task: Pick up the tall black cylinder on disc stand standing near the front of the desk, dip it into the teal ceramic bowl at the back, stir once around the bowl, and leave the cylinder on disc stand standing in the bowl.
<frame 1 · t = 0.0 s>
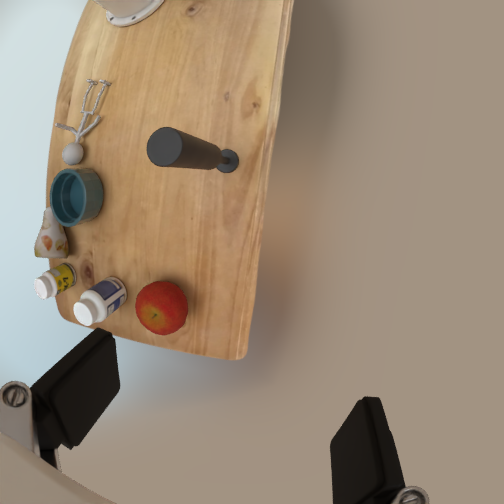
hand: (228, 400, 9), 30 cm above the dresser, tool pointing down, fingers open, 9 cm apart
mug: (61, 230, 43), on the dresser
pill bottle: (116, 290, 44), on the dresser
bowl: (85, 194, 40), on the dresser
apple: (172, 296, 42), on the dresser
figurine: (90, 123, 37), on the dresser
cylinder on disc stand: (227, 161, 36), on the dresser
supplement bottle: (69, 273, 45), on the dresser
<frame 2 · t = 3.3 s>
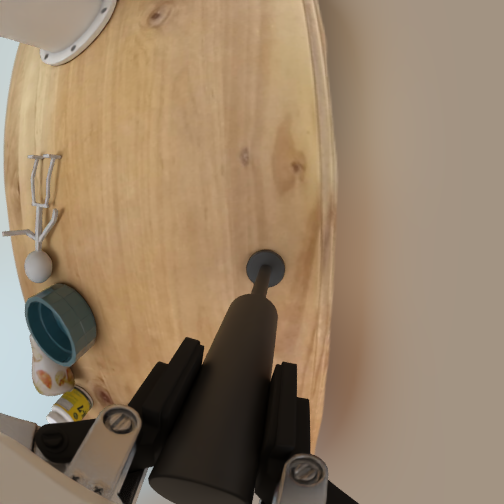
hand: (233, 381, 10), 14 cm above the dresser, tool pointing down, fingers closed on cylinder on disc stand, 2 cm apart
mug: (58, 351, 32), on the dresser
bowl: (72, 315, 29), on the dresser
figurine: (49, 217, 26), on the dresser
cylinder on disc stand: (266, 267, 23), on the dresser, touching gripper
supplement bottle: (83, 394, 34), on the dresser
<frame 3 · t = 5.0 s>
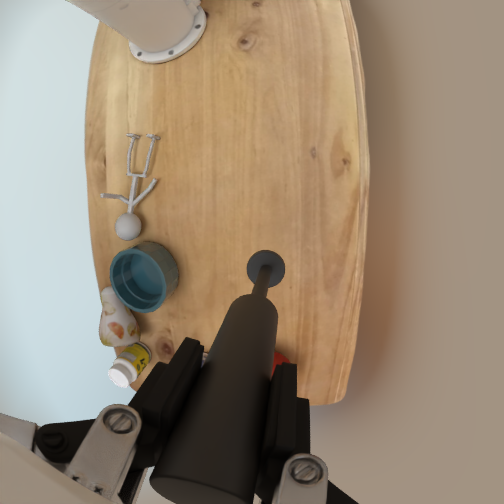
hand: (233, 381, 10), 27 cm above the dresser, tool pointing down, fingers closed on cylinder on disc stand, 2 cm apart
mug: (124, 308, 42), on the dresser
bowl: (152, 270, 40), on the dresser
figurine: (141, 187, 37), on the dresser
cylinder on disc stand: (266, 268, 23), point 13 cm above the dresser, touching gripper
supplement bottle: (141, 351, 44), on the dresser
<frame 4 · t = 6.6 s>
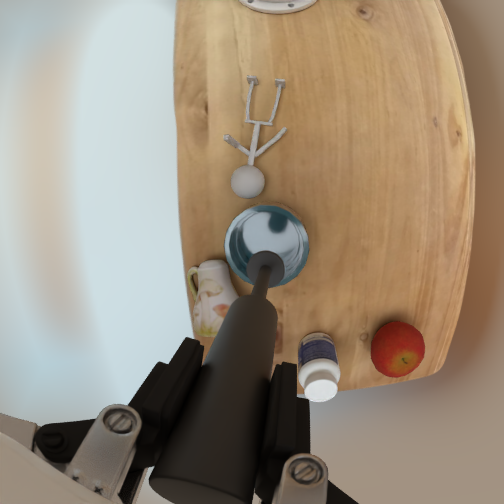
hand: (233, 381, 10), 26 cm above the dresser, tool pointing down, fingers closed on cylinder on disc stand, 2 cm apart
mug: (220, 289, 38), on the dresser
pill bottle: (316, 345, 38), on the dresser
bowl: (269, 237, 35), on the dresser
apple: (389, 333, 36), on the dresser
figurine: (260, 138, 32), on the dresser
cylinder on disc stand: (265, 268, 23), point 12 cm above the dresser, touching gripper
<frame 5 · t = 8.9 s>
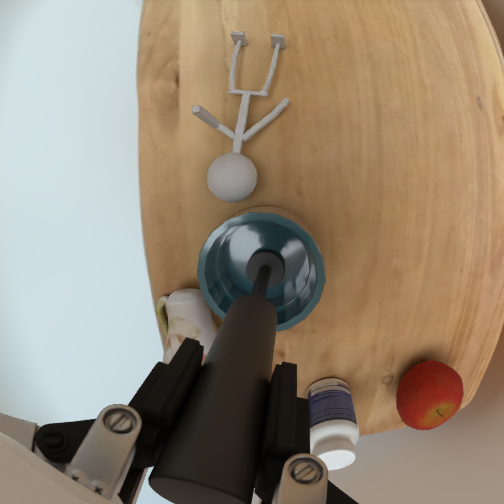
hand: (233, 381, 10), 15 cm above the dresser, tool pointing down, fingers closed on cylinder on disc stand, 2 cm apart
mug: (200, 325, 27), on the dresser
pill bottle: (327, 392, 28), on the dresser
bowl: (265, 258, 24), on the dresser
apple: (418, 373, 26), on the dresser
figurine: (251, 115, 21), on the dresser
cylinder on disc stand: (265, 268, 23), point 1 cm above the dresser, touching gripper
when the fingers open (15 cm above the dresser, at t = 10.4 s): cylinder on disc stand stays where it is, resting on bowl.
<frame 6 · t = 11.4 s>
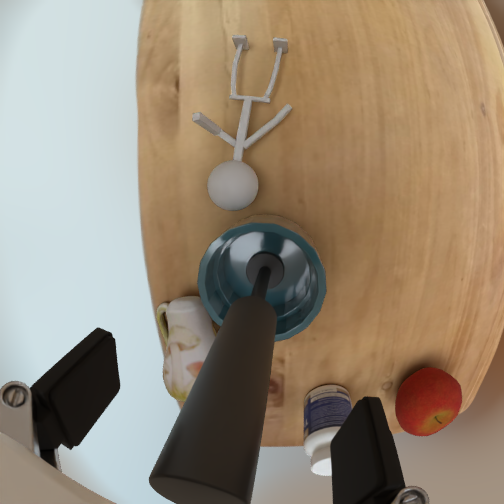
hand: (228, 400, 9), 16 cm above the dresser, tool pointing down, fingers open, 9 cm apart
mug: (200, 332, 27), on the dresser
pill bottle: (326, 398, 27), on the dresser
bowl: (266, 266, 24), on the dresser
apple: (417, 379, 26), on the dresser
figurine: (252, 121, 21), on the dresser
cylinder on disc stand: (265, 269, 24), point 1 cm above the dresser, touching bowl
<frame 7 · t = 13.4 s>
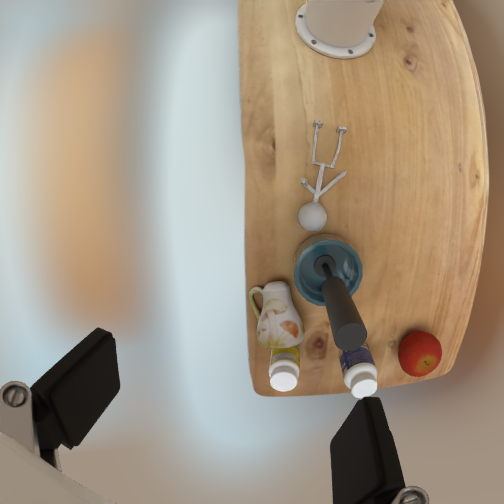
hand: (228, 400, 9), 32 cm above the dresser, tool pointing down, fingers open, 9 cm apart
mug: (277, 306, 43), on the dresser
pill bottle: (353, 352, 43), on the dresser
bowl: (324, 263, 40), on the dresser
apple: (412, 340, 41), on the dresser
figurine: (321, 177, 37), on the dresser
cylinder on disc stand: (324, 265, 39), point 1 cm above the dresser, touching bowl
supplement bottle: (285, 350, 45), on the dresser
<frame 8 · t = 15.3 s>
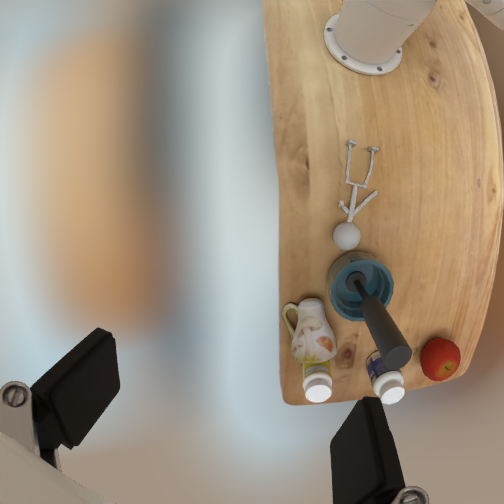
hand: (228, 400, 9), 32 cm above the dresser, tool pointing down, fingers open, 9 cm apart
mug: (309, 320, 43), on the dresser
pill bottle: (379, 360, 43), on the dresser
bowl: (355, 279, 40), on the dresser
apple: (432, 347, 41), on the dresser
figurine: (353, 196, 37), on the dresser
cylinder on disc stand: (356, 281, 39), point 1 cm above the dresser, touching bowl
supplement bottle: (315, 361, 45), on the dresser
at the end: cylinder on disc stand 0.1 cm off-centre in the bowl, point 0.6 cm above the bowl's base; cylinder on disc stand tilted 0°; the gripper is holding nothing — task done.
